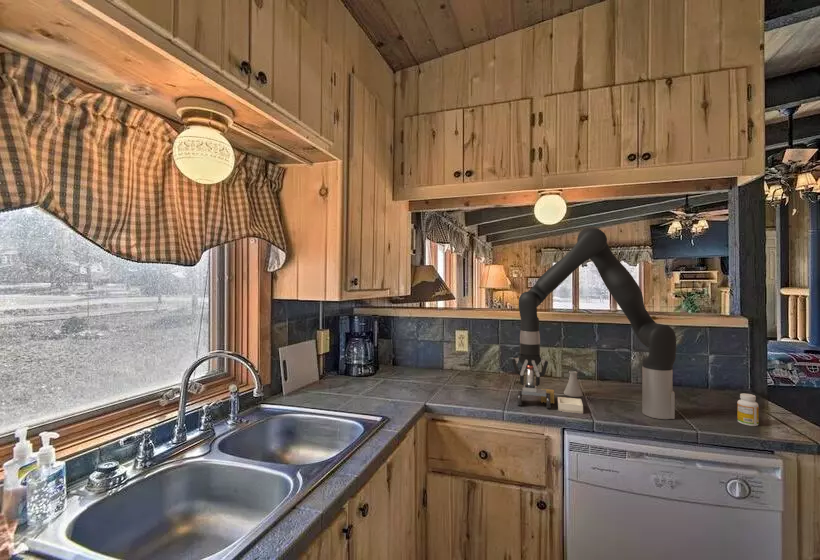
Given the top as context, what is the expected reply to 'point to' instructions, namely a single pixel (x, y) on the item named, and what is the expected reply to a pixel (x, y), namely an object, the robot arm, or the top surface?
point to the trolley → (534, 392)
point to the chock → (543, 398)
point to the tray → (570, 405)
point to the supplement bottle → (747, 410)
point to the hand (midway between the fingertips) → (530, 385)
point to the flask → (573, 386)
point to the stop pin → (529, 376)
